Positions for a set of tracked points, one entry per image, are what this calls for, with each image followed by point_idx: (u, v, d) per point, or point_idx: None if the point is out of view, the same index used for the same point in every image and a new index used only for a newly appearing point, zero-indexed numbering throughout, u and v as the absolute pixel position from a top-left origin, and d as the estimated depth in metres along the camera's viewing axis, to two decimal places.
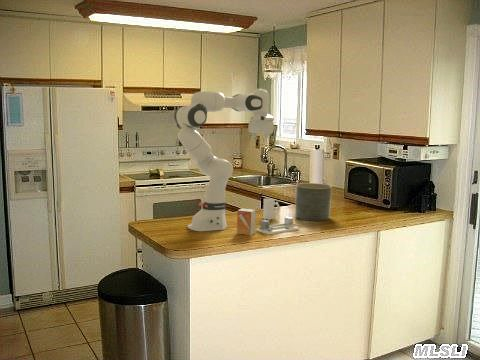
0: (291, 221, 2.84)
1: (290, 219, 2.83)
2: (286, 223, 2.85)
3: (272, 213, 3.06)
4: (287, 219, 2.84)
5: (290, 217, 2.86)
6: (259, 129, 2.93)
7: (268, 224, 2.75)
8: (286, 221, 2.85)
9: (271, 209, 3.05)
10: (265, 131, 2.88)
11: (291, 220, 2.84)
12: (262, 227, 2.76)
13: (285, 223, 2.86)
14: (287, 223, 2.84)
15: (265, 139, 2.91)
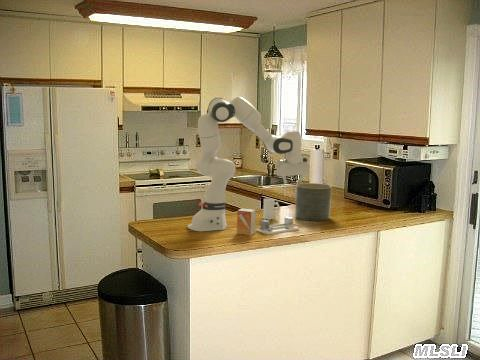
0: (291, 221, 2.84)
1: (290, 219, 2.83)
2: (286, 223, 2.85)
3: (272, 213, 3.06)
4: (287, 219, 2.84)
5: (290, 217, 2.86)
6: (296, 171, 2.86)
7: (268, 224, 2.75)
8: (286, 221, 2.85)
9: (271, 209, 3.05)
10: (305, 172, 2.89)
11: (291, 220, 2.84)
12: (262, 227, 2.76)
13: (285, 223, 2.86)
14: (287, 223, 2.84)
15: None
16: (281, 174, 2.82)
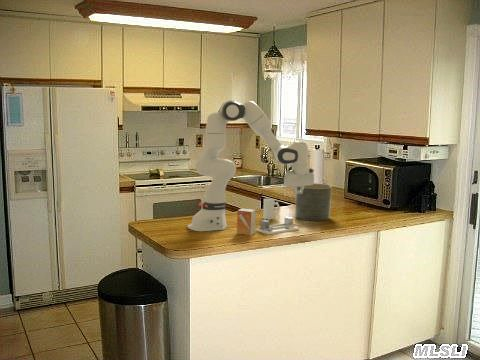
0: (291, 221, 2.84)
1: (290, 219, 2.83)
2: (286, 223, 2.85)
3: (272, 213, 3.06)
4: (287, 219, 2.84)
5: (290, 217, 2.86)
6: (302, 182, 2.86)
7: (268, 224, 2.75)
8: (286, 221, 2.85)
9: (271, 209, 3.05)
10: (310, 183, 2.89)
11: (291, 220, 2.84)
12: (262, 227, 2.76)
13: (285, 223, 2.86)
14: (287, 223, 2.84)
15: None
16: (289, 185, 2.80)
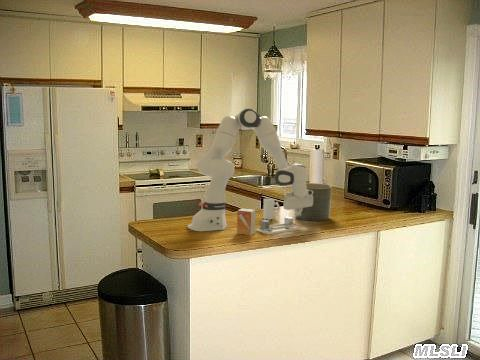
0: (291, 221, 2.84)
1: (290, 219, 2.83)
2: (286, 223, 2.85)
3: (272, 213, 3.06)
4: (287, 219, 2.84)
5: (290, 217, 2.86)
6: (302, 204, 2.88)
7: (268, 224, 2.75)
8: (286, 221, 2.85)
9: (271, 209, 3.05)
10: (309, 204, 2.92)
11: (291, 220, 2.84)
12: (262, 227, 2.76)
13: (285, 223, 2.86)
14: (287, 223, 2.84)
15: None
16: (289, 208, 2.83)
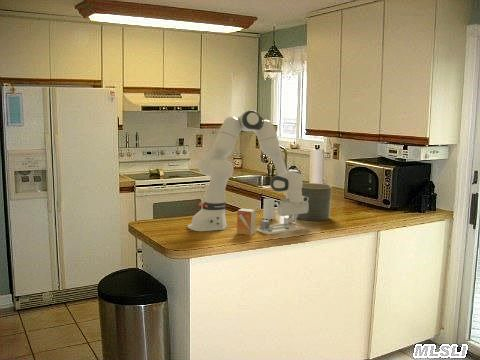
0: (290, 221, 2.84)
1: (289, 219, 2.83)
2: (285, 223, 2.85)
3: (272, 213, 3.06)
4: (286, 219, 2.84)
5: (289, 217, 2.85)
6: (297, 210, 2.86)
7: (268, 224, 2.75)
8: (285, 221, 2.85)
9: (271, 209, 3.05)
10: (304, 211, 2.90)
11: (290, 220, 2.84)
12: (262, 227, 2.76)
13: (284, 223, 2.86)
14: (286, 223, 2.84)
15: None
16: (284, 214, 2.81)
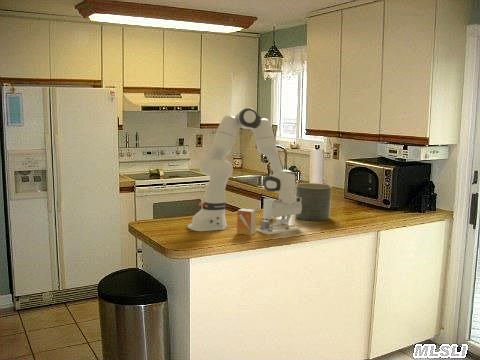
0: (283, 222, 2.81)
1: (282, 220, 2.80)
2: (278, 224, 2.82)
3: None
4: (279, 220, 2.81)
5: (282, 218, 2.82)
6: (290, 211, 2.83)
7: (268, 224, 2.75)
8: (278, 222, 2.82)
9: None
10: (297, 212, 2.86)
11: (283, 221, 2.81)
12: (262, 227, 2.76)
13: (277, 224, 2.83)
14: (279, 224, 2.81)
15: None
16: (276, 215, 2.77)
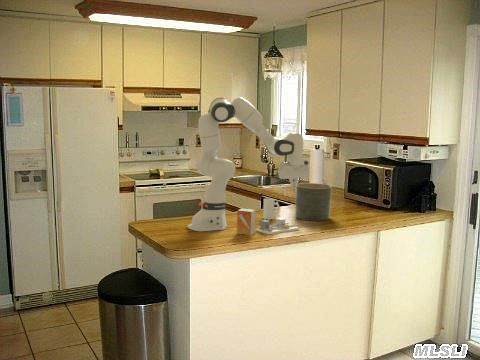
0: (283, 222, 2.81)
1: (282, 220, 2.80)
2: (278, 224, 2.82)
3: (272, 213, 3.06)
4: (279, 220, 2.81)
5: (282, 218, 2.82)
6: (297, 174, 2.83)
7: (268, 224, 2.75)
8: (278, 222, 2.82)
9: (271, 209, 3.05)
10: (305, 175, 2.87)
11: (283, 221, 2.81)
12: (262, 227, 2.76)
13: (277, 224, 2.83)
14: (279, 224, 2.81)
15: None
16: (284, 177, 2.78)
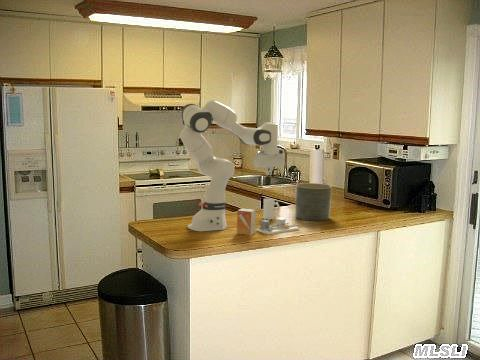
0: (283, 222, 2.81)
1: (282, 220, 2.80)
2: (278, 224, 2.82)
3: (272, 213, 3.06)
4: (279, 220, 2.81)
5: (282, 218, 2.82)
6: (272, 163, 2.88)
7: (268, 224, 2.75)
8: (278, 222, 2.82)
9: (271, 209, 3.05)
10: (280, 164, 2.92)
11: (283, 221, 2.81)
12: (262, 227, 2.76)
13: (277, 224, 2.83)
14: (279, 224, 2.81)
15: None
16: (259, 165, 2.83)
